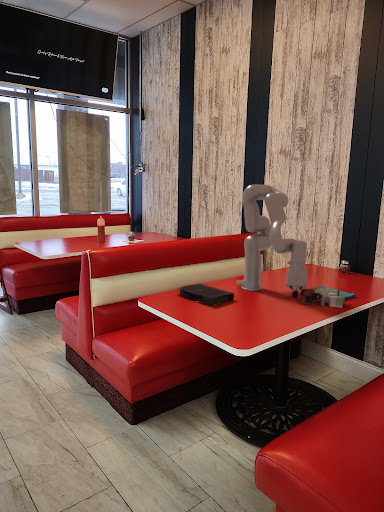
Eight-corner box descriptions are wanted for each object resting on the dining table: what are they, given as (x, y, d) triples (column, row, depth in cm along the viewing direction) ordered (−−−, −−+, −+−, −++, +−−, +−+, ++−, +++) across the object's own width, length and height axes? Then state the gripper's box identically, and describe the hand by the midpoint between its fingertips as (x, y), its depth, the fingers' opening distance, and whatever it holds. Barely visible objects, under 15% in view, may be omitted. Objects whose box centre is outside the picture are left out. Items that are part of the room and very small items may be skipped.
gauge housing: (329, 306, 196) (330, 297, 195) (327, 300, 205) (328, 291, 204) (342, 307, 194) (343, 298, 193) (339, 301, 204) (340, 292, 203)
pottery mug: (295, 303, 201) (296, 288, 203) (303, 307, 207) (303, 293, 210) (318, 302, 193) (318, 286, 196) (325, 307, 200) (325, 291, 203)
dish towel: (340, 303, 204) (340, 298, 203) (302, 292, 222) (303, 288, 221) (356, 298, 215) (357, 293, 214) (320, 288, 232) (320, 284, 232)
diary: (200, 291, 219) (200, 282, 219) (233, 301, 202) (234, 292, 201) (175, 296, 207) (176, 287, 206) (209, 308, 189) (210, 298, 188)
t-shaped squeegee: (321, 306, 195) (322, 291, 193) (318, 298, 207) (319, 284, 206) (345, 308, 193) (347, 293, 191) (341, 300, 205) (342, 286, 204)
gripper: (283, 264, 198) (280, 298, 201) (313, 266, 195) (310, 301, 198) (282, 261, 205) (280, 294, 209) (311, 263, 202) (308, 297, 206)
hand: (294, 298), depth 204 cm, fingers closed
